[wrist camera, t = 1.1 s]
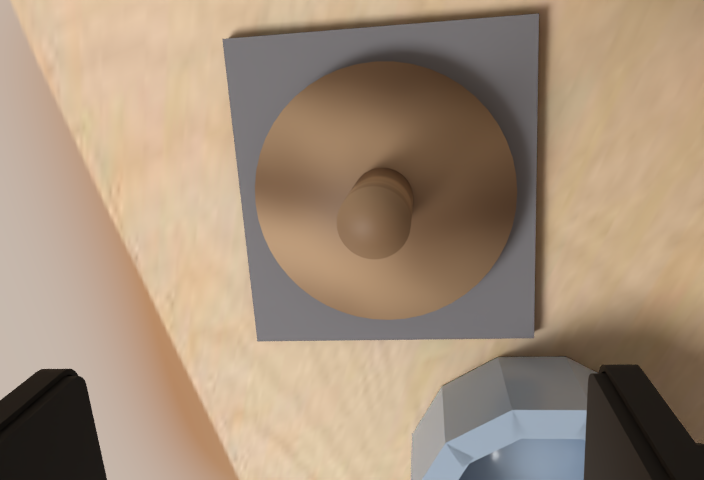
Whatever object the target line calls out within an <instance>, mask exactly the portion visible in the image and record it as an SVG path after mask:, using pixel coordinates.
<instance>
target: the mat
mask: <svg viewBox="0 0 704 480" xmlns="http://www.w3.org/2000/svg"><path fill="white" fill-rule="evenodd" d="M538 43H539V14H527V15H514V16H502V17H490V18H477V19H465V20H452V21H440V22H427V23H415V24H403V25H390V26H378V27H365V28H353V29H340V30H328V31H316V32H303V33H291V34H278V35H266V36H253V37H241V38H229V39H223V47H224V56H225V65H226V73H227V82H228V90H229V99H230V108H231V116H232V125H233V134H234V142H235V151H236V159H237V168H238V177H239V185H240V194H241V203H242V211H243V220H244V228H245V237H246V246H247V254H248V263H249V272H250V280H251V289H252V297H253V306H254V315H255V323H256V332H257V341H326V340H413V339H501V338H534V306H535V240H536V175H537V109H538ZM375 61H394V62H402V63H409V64H414V65H418V66H421V67H425V68H429V69H431V70H433V71H436V72H438V73H440V74H443V75H445V76H447V77H449V78H450V79H452V80H454V81H455V82H457V83H459V84H460V85H462V86H463V87H464V88H466V89H467V90H468V91H469V92H470V93H472V94H473V95H474V96H475V97H476V98H477V99H478V100H479V101H480V102H481V103H482V104H483V105H484V106H485V107H486V108H487V109H488V111H489V112H490V113H491V115H492V116H493V118H494V119H495V120H496V122H497V123H498V125H499V127H500V129H501V131H502V132H503V134H504V136H505V138H506V140H507V143H508V146H509V149H510V151H511V154H512V157H513V162H514V167H515V172H516V180H517V203H516V212H515V217H514V221H513V226H512V229H511V232H510V235H509V237H508V240H507V243H506V245H505V247H504V249H503V250H502V252H501V254H500V256H499V258H498V259H497V261H496V262H495V264H494V265H493V267H492V268H491V269H490V271H489V272H488V273H487V274H486V275H485V276H484V278H483V279H482V280H481V281H480V282H479V283H478V284H477V285H476V286H475V287H473V288H472V289H471V290H470V291H469V292H467V293H466V294H465V295H463V296H462V297H460V298H459V299H457V300H456V301H454V302H453V303H451V304H449V305H447V306H445V307H442V308H440V309H438V310H436V311H433V312H430V313H427V314H424V315H421V316H416V317H411V318H406V319H394V320H380V319H369V318H363V317H357V316H354V315H350V314H347V313H344V312H341V311H338V310H336V309H334V308H331V307H329V306H327V305H325V304H323V303H322V302H320V301H318V300H317V299H315V298H313V297H312V296H310V295H309V294H308V293H306V292H305V291H304V290H303V289H301V288H300V287H299V286H298V285H297V284H296V283H295V282H294V281H293V280H292V279H291V278H290V277H289V276H288V275H287V274H286V273H285V271H284V270H283V269H282V268H281V266H280V265H279V264H278V262H277V261H276V259H275V257H274V256H273V254H272V252H271V251H270V249H269V247H268V245H267V242H266V240H265V238H264V236H263V233H262V230H261V226H260V223H259V220H258V215H257V209H256V202H255V179H256V169H257V165H258V160H259V155H260V152H261V149H262V147H263V144H264V141H265V138H266V136H267V134H268V133H269V131H270V129H271V127H272V125H273V123H274V122H275V120H276V119H277V117H278V116H279V115H280V113H281V112H282V110H283V109H284V108H285V107H286V106H287V105H288V104H289V102H290V101H291V100H292V99H293V98H294V97H295V96H296V95H298V94H299V93H300V92H301V91H302V90H304V89H305V88H306V87H307V86H308V85H310V84H312V83H313V82H315V81H317V80H318V79H320V78H321V77H323V76H325V75H327V74H330V73H332V72H334V71H336V70H339V69H342V68H345V67H349V66H352V65H356V64H361V63H368V62H375Z"/></svg>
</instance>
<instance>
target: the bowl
mask: <svg viewBox="0 0 704 480" xmlns="http://www.w3.org/2000/svg"><path fill="white" fill-rule="evenodd" d="M591 373H597V372H595V371H593V370H591V369H589V368H587V367H585V366H583V365H581V364H579V363H577V362H575V361H573V360H571V359H569V358H567V357H497V358H495V359H493V360H491V361H489V362H487V363H486V364H484V365H482V366H480V367H478V368H476V369H474V370H472V371H470V372H468V373H466V374H465V375H463V376H461V377H459V378H457V379H455V380H453V381H451V382H449V383H447V384H445V385H444V386H442V387H441V389H440V390H439V392H438V393H437V395H436V397H435V398H434V400H433V401H432V403H431V405H430V406H429V408H428V410H427V411H426V413H425V414H424V416H423V418H422V419H421V421H420V423H419V424H418V426H417V427H416V429H415V431H414V432H413V434H412V458H411V480H584V460H585V437H586V415H587V393H588V378H589V375H590V374H591Z"/></svg>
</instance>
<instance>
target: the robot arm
mask: <svg viewBox="0 0 704 480" xmlns="http://www.w3.org/2000/svg"><path fill="white" fill-rule="evenodd" d="M0 480H107V478H106V473H105V469H104V464H103V460H102V455H101V450H100V446H99V441H98V437H97V432H96V428H95V423H94V418H93V414H92V409H91V404H90V400H89V395H88V391H87V386H86V383H85V380H84V379H83V378H82V377H80V376H78V374H77V373H76V372H75V371H74V370H72V369H41V370H39V371H38V372H36V373H35V374H33V375H32V376H31V377H30V378H28V379H27V380H26V381H25V382H23V383H22V384H21V385H20V386H18V387H17V388H16V389H14V390H13V391H12V392H11V393H9V394H8V395H7V396H5V397H4V398H3V399H2V400H0ZM584 480H704V444H701V443H695V442H694V440H693V439H692V438H691V436H690V435H689V434H688V432H687V431H686V430H685V428H684V427H683V425H682V424H681V423H680V421H679V420H678V419H677V417H676V416H675V414H674V413H673V412H672V410H671V409H670V408H669V406H668V405H667V403H666V402H665V401H664V399H663V398H662V397H661V395H660V394H659V393H658V391H657V390H656V388H655V387H654V386H653V384H652V383H651V382H650V380H649V379H648V377H647V376H646V375H645V373H644V372H643V371H642V369H641V368H640V367H639V366H638V365H602V366H601V367H600V370H599V373H591V374H590V375H589V378H588V393H587V415H586V437H585V460H584Z"/></svg>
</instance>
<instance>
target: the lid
mask: <svg viewBox="0 0 704 480" xmlns="http://www.w3.org/2000/svg"><path fill="white" fill-rule="evenodd" d="M255 202H256V209H257V215H258V220H259V223H260V226H261V230H262V233H263V236H264V238H265V240H266V242H267V245H268V247H269V249H270V251H271V252H272V254H273V256H274V257H275V259H276V261H277V262H278V264H279V265H280V266H281V268H282V269H283V270H284V271H285V273H286V274H287V275H288V276H289V277H290V278H291V279H292V280H293V281H294V282H295V283H296V284H297V285H298V286H299V287H300V288H301V289H303V290H304V291H305V292H306V293H308V294H309V295H310V296H312V297H313V298H315V299H317V300H318V301H320V302H322V303H323V304H325V305H327V306H329V307H331V308H334V309H336V310H338V311H341V312H344V313H347V314H350V315H354V316H357V317H363V318H369V319H380V320H394V319H406V318H411V317H416V316H421V315H424V314H427V313H430V312H433V311H436V310H438V309H440V308H442V307H445V306H447V305H449V304H451V303H453V302H454V301H456V300H457V299H459V298H460V297H462V296H463V295H465V294H466V293H467V292H469V291H470V290H471V289H472V288H473V287H475V286H476V285H477V284H478V283H479V282H480V281H481V280H482V279H483V278H484V276H485V275H486V274H487V273H488V272H489V271H490V269H491V268H492V267H493V265H494V264H495V262H496V261H497V259H498V258H499V256H500V254H501V252H502V250H503V249H504V247H505V245H506V243H507V240H508V237H509V235H510V232H511V229H512V226H513V221H514V217H515V212H516V203H517V180H516V172H515V167H514V162H513V157H512V154H511V151H510V149H509V146H508V143H507V140H506V138H505V136H504V134H503V132H502V131H501V129H500V127H499V125H498V123H497V122H496V120H495V119H494V118H493V116H492V115H491V113H490V112H489V111H488V109H487V108H486V107H485V106H484V105H483V104H482V103H481V102H480V101H479V100H478V99H477V98H476V97H475V96H474V95H473V94H472V93H470V92H469V91H468V90H467V89H466V88H464V87H463V86H462V85H460V84H459V83H457V82H455V81H454V80H452V79H450V78H449V77H447V76H445V75H443V74H440V73H438V72H436V71H433V70H431V69H429V68H425V67H421V66H418V65H414V64H409V63H402V62H394V61H375V62H368V63H361V64H356V65H352V66H349V67H345V68H342V69H339V70H336V71H334V72H332V73H330V74H327V75H325V76H323V77H321V78H320V79H318V80H317V81H315V82H313V83H312V84H310V85H308V86H307V87H306V88H305V89H304V90H302V91H301V92H300V93H299V94H298V95H296V96H295V97H294V98H293V99H292V100H291V101H290V102H289V104H288V105H287V106H286V107H285V108H284V109H283V110H282V112H281V113H280V115H279V116H278V117H277V119H276V120H275V122H274V123H273V125H272V127H271V129H270V131H269V133H268V134H267V136H266V138H265V141H264V144H263V147H262V149H261V152H260V155H259V160H258V165H257V169H256V179H255Z"/></svg>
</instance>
